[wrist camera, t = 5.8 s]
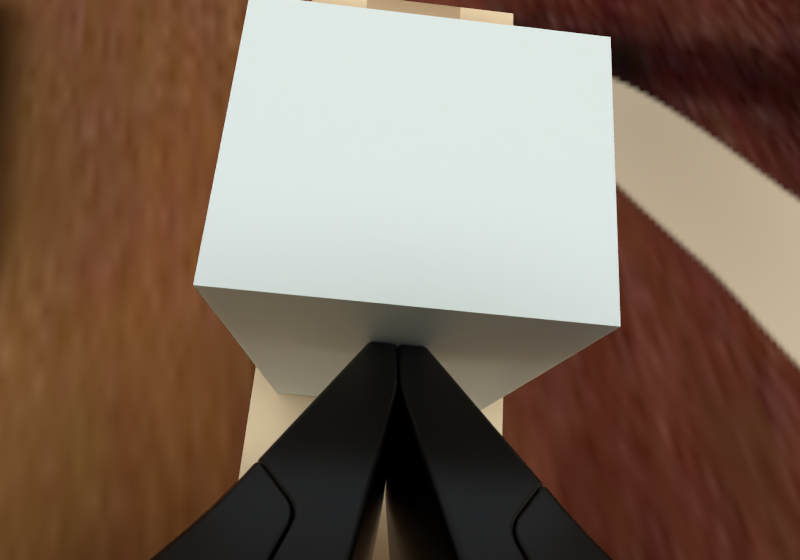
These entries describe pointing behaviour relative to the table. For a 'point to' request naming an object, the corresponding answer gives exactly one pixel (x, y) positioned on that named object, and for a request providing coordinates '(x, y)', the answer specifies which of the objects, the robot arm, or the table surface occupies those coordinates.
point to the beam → (281, 410)
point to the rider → (413, 195)
